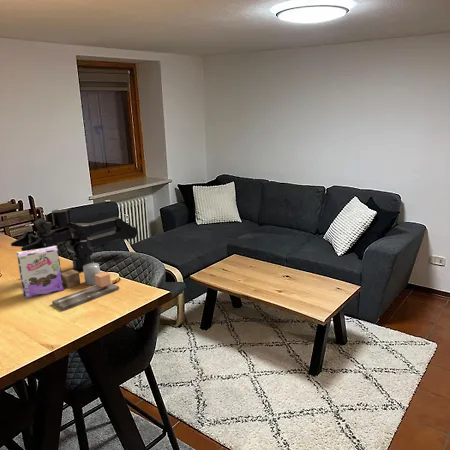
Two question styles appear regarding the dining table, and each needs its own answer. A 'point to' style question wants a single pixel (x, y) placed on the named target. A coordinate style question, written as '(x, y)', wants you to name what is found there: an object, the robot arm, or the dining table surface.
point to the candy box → (40, 271)
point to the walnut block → (70, 278)
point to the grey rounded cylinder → (90, 273)
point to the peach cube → (102, 279)
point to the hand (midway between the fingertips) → (16, 247)
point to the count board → (83, 296)
